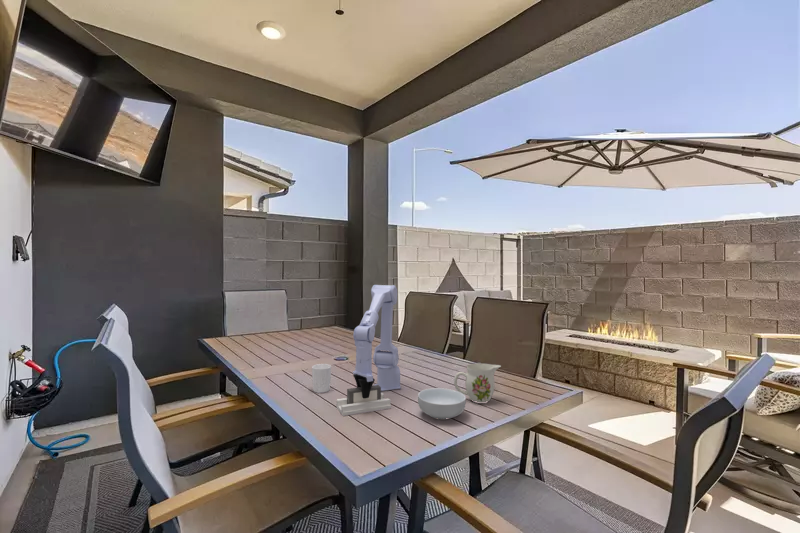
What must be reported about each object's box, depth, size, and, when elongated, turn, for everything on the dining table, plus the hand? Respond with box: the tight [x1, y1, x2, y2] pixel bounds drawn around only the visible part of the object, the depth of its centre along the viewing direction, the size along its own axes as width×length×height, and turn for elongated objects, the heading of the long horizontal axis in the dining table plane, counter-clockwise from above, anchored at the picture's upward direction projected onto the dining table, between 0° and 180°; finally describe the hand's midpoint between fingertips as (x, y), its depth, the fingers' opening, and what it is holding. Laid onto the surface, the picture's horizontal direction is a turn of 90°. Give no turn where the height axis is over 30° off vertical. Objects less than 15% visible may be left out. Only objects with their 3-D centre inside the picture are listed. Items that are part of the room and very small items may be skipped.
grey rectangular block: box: [346, 384, 382, 404], centre depth 139 cm, size 12×3×6 cm, turn 114°
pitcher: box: [453, 363, 502, 402], centre depth 147 cm, size 11×18×14 cm, turn 88°
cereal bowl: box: [417, 387, 467, 420], centre depth 133 cm, size 17×17×7 cm
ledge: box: [335, 392, 392, 417], centre depth 139 cm, size 18×9×3 cm, turn 114°
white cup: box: [311, 363, 332, 394], centre depth 158 cm, size 8×8×10 cm
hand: (363, 395), depth 139 cm, fingers open, 4 cm apart
